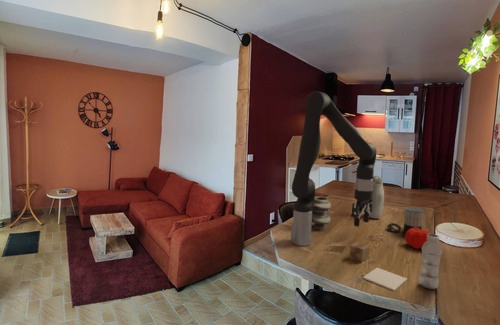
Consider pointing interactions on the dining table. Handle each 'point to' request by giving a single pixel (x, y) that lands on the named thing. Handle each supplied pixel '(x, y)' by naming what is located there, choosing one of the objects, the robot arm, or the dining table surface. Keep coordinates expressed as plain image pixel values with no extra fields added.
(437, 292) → the dining table surface
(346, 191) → the dining table surface
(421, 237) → the tomato
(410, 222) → the milk frother
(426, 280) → the plastic bottle
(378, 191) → the white bottle
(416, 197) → the dining table surface
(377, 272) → the plate
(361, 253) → the cube
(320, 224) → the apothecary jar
